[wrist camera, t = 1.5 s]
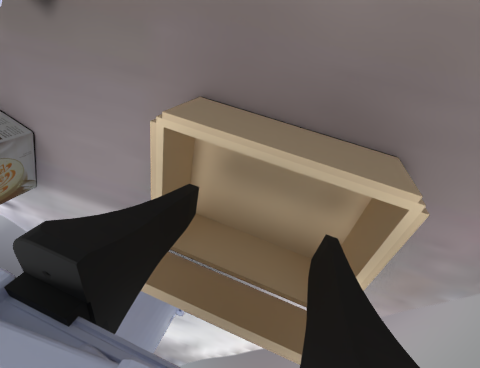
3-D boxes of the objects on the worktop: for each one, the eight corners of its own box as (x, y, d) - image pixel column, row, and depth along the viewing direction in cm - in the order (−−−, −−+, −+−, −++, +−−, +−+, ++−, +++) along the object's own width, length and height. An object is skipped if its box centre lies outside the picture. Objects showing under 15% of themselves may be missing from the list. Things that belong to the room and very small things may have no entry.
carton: (335, 268, 22) (337, 320, 17) (181, 207, 24) (151, 241, 20) (410, 160, 15) (440, 202, 11) (191, 93, 18) (150, 107, 14)
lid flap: (325, 318, 18) (322, 325, 18) (159, 247, 20) (157, 253, 20) (351, 378, 12) (348, 387, 12) (111, 267, 14) (108, 275, 14)
